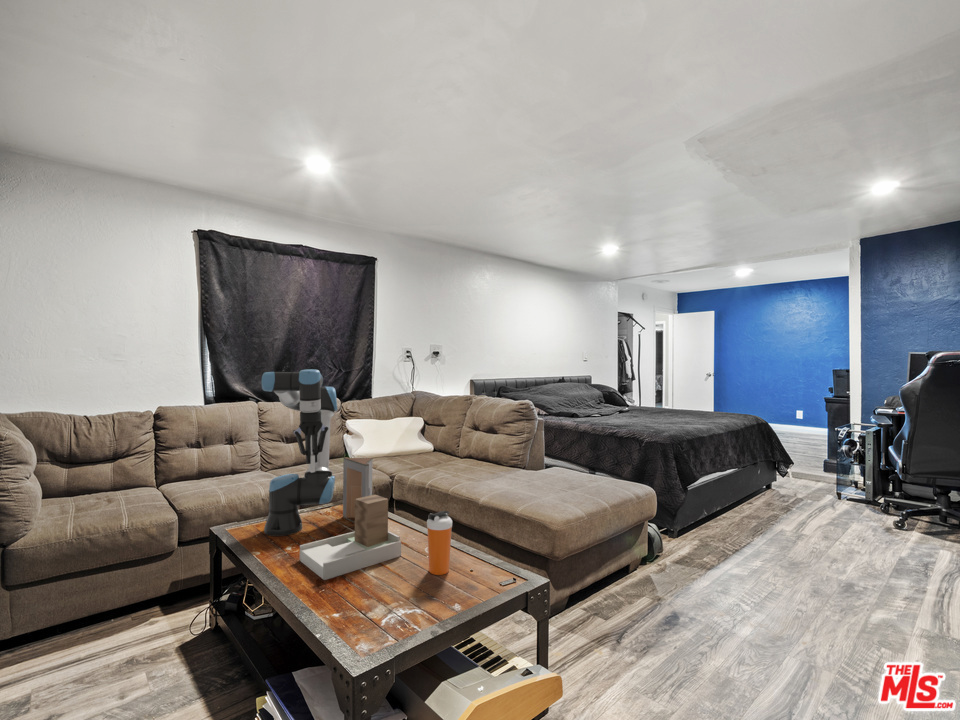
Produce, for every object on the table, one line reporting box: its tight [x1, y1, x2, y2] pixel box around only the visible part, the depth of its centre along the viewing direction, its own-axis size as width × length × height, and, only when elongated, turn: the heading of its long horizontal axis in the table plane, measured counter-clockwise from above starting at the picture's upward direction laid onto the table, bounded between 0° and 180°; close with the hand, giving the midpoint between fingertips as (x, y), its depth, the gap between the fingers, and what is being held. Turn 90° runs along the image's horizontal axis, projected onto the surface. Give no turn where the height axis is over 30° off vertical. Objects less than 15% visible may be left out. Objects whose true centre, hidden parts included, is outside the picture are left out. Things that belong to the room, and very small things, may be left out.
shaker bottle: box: [426, 510, 453, 576], centre depth 164 cm, size 9×9×20 cm
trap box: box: [299, 530, 402, 581], centre depth 173 cm, size 21×30×7 cm
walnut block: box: [354, 494, 389, 547], centre depth 180 cm, size 9×9×16 cm
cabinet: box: [342, 456, 373, 524], centre depth 215 cm, size 21×10×28 cm, turn 43°
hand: (312, 471), depth 179 cm, fingers closed
